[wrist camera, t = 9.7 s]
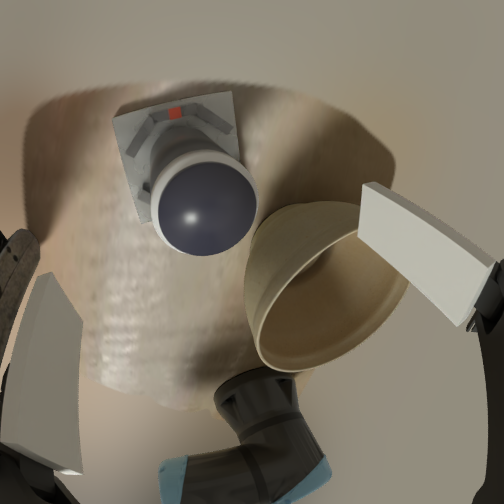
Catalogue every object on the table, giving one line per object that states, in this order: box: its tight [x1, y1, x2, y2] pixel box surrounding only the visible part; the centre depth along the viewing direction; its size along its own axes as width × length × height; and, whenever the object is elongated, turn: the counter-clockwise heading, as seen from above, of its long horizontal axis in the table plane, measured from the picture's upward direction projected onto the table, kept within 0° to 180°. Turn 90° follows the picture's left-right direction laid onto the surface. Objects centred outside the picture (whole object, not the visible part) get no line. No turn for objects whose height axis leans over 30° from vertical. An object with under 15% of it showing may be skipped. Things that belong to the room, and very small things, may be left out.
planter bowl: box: [244, 201, 411, 372], centre depth 25 cm, size 16×16×11 cm
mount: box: [112, 91, 240, 224], centre depth 19 cm, size 9×9×2 cm
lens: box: [150, 126, 259, 256], centre depth 16 cm, size 5×5×10 cm
